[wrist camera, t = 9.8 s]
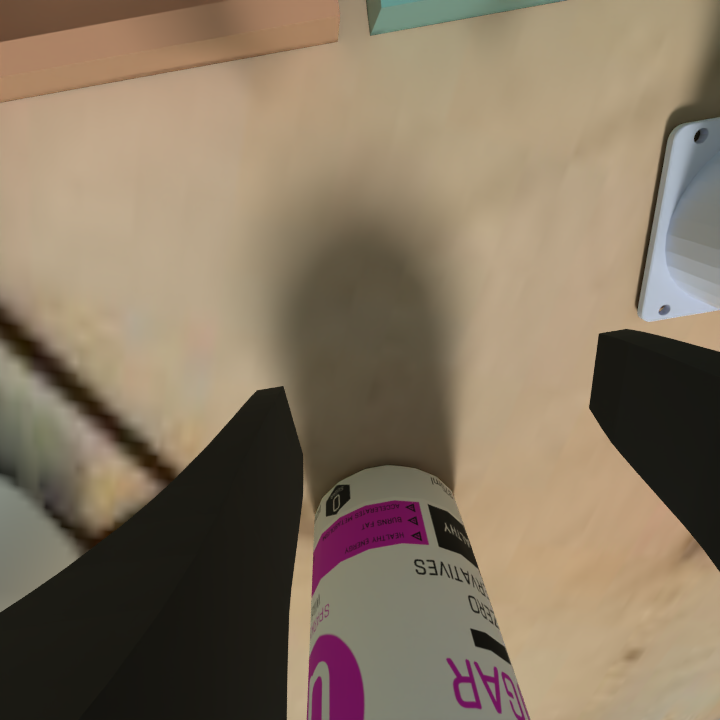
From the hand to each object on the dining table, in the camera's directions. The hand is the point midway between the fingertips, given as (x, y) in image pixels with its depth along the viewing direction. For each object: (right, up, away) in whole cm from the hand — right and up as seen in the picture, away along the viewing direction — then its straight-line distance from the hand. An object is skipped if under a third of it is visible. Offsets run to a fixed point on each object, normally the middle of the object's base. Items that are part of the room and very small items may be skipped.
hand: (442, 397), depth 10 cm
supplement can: (0, -8, +15) cm, 17 cm away
